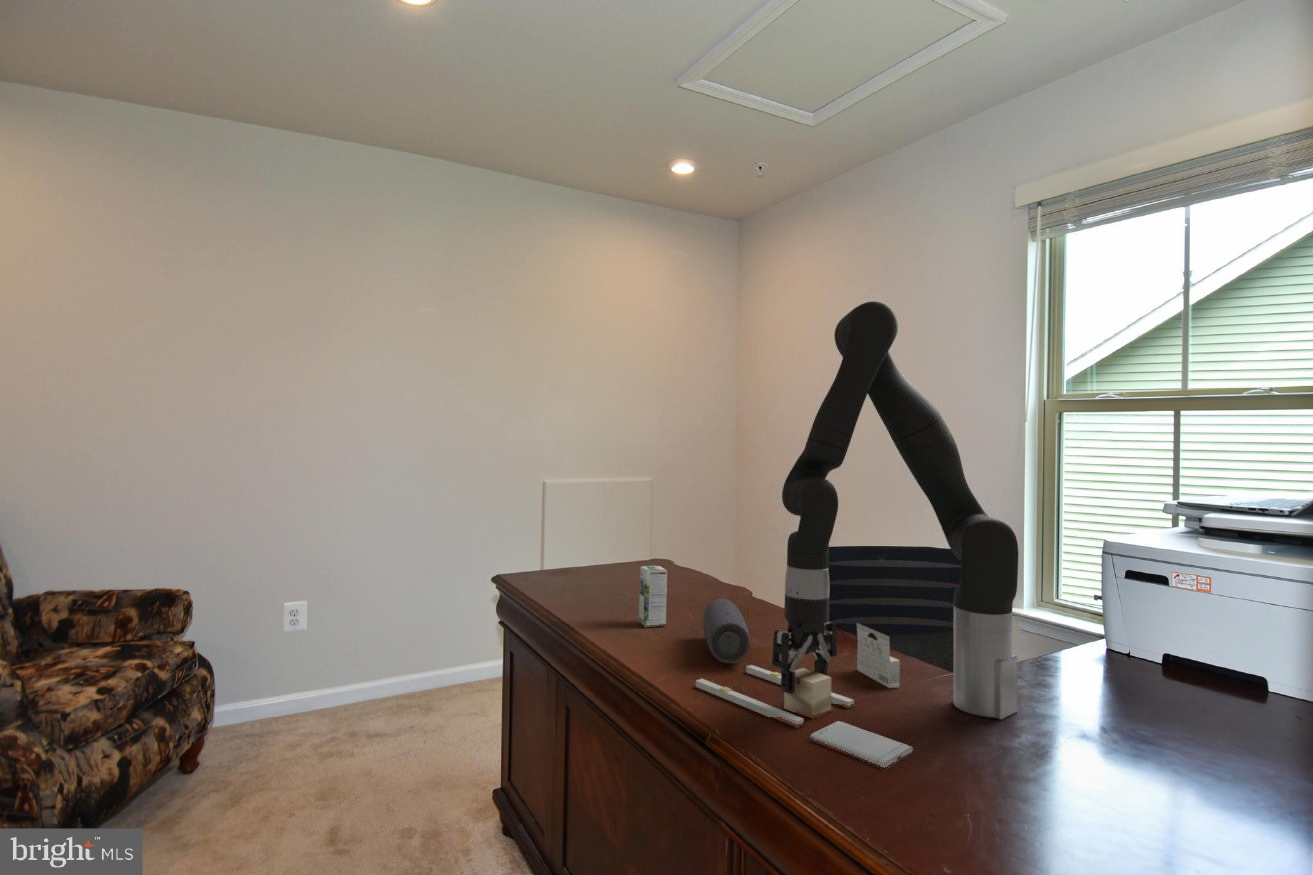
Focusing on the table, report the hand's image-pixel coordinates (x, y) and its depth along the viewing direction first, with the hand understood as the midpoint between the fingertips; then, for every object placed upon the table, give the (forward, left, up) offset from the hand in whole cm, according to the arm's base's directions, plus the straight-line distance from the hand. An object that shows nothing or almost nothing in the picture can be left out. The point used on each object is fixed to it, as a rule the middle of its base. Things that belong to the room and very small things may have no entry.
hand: (804, 687), depth 116 cm
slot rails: (+7, 0, -4) cm, 8 cm away
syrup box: (+59, -14, -4) cm, 61 cm away
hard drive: (-15, +5, -5) cm, 16 cm away
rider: (-1, 0, -4) cm, 4 cm away
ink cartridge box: (+1, -24, -4) cm, 24 cm away
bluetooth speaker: (+31, -12, -4) cm, 34 cm away
